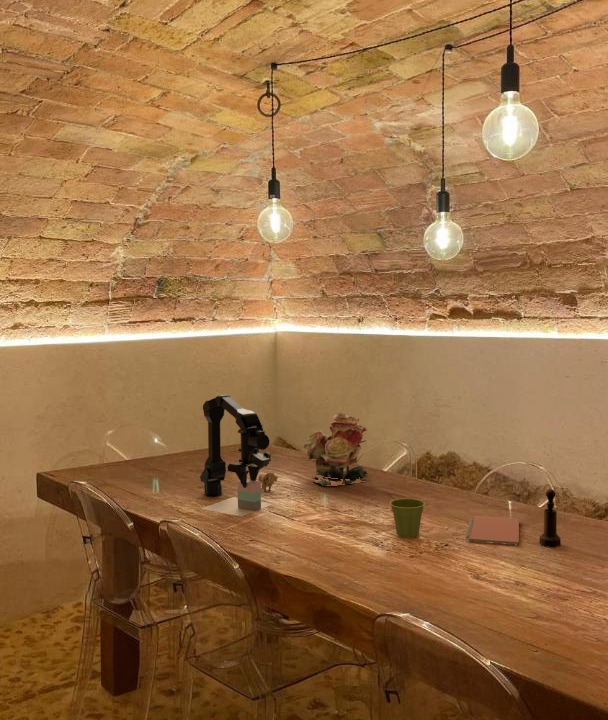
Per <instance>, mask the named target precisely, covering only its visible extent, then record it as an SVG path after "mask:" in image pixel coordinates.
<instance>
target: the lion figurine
mask: <svg viewBox="0 0 608 720" xmlns="http://www.w3.org/2000/svg"><path fill="white" fill-rule="evenodd" d="M278 479H279V477H278V476H276V474H275V472H273V471H272V472H271V471H270V472H269V473H266V474H265V473H260V474H258V478H257V481H260V482H261V489H263V492H264V493H266V492H271V489H272V486H273V484H275V482H277V481H278ZM267 488H268V491H267Z"/></svg>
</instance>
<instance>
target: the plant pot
mask: <svg viewBox="0 0 608 720" xmlns="http://www.w3.org/2000/svg"><path fill="white" fill-rule="evenodd" d="M389 505H390V506H391V510H392V514H393V519H394V524H395V530H396V535H397V536H398V538H403V539H410V538H411V539H415V538H417V537H418V536H419V534H420V529H421V521H422V515H423V511H424V507H425V505H426V502H425V501H424V500H421V499H418V498H417V499H416V498H406V497H405V498H397V499H393V500H390V502H389Z"/></svg>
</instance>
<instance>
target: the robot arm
mask: <svg viewBox="0 0 608 720" xmlns="http://www.w3.org/2000/svg"><path fill="white" fill-rule="evenodd" d="M202 411H203V415H204V418H205V419H206V421H207V430H208V431H207V435H208V436H207V437H208V439H207V440H208V441H207V443H208V446H207V447H208V448H207V449H208V457H207V458H206V460H205V462H204V469H203V471H202V472H201V474H200V476H199V478H200V482H202V483H203V485H204V486H203V487H204V494H202V496H204V497H209V498H217V497H219V496H223V495H224V493H223V492H222V491H223V490H222V489H223V487H222V481H225V478H226V473H227V472H231V473H235V474H236V476H237V478H238V479H239V480H238V481H240V482H241V484H242V486H243V488H246V485H247V480H248V475H249V480H253V481H257V479H258V476H259V472H260V470H262V469H263V468H265V467H268V465H269V464H270V462H271V461H272V460H271V458H272V456H271V452H268V451H266V452H264V453H263V452H262V453H261V452H260V450H262V451H263V450H266V449H268V447H269V446H270V442H271V441H270V438H269V436H268V435H267V434H266V431H265V430H264V428H263V424H262V423H261V421H260V418H259V416H258V414H257V413H256V412H254V411H252V410H250V409H245V408H244V407H242V406H241V405H240V404H239V403H238V402H236V401H235V400H234V399H233V398H232V397H231V395H229V394H220V395H219V394H218V395H217V396H215V397H214V398H212V399H209V400H206V401H205V402H204V403H203V405H202ZM225 411H226V412H227V413H229V414H230V415H231V416H232V417H233V418H234V419H235V424H236V425H237V426H238V428H239V429H238V431H237V434H238V433H239V434H240V448H238V452H240V458H239V459H238V461H237V462H235V461H233V462H231V463H229V464H228V465H227V464H226V461H225V460H223V458H222V456H221V455H222V453H221V451H222V449H221V448H222V447H221V445H222V444H221V421H222V419H223V418H224V416H225ZM226 465H227V466H226ZM226 467H227V468H226Z"/></svg>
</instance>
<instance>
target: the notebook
mask: <svg viewBox="0 0 608 720" xmlns="http://www.w3.org/2000/svg"><path fill="white" fill-rule="evenodd" d="M469 518H470V519H469V523H468V526H467V530H466V535H465V539H466V538H467V539H468V542H469V541H475V542H474V543H478V542H493V543H506V544H518V545H519V543H520V541H519V539H520V535H519V534H520V519H519V518H515V517H502V516H501V517H500V516H499V517H498V516H486V515H485V516H484V515H483V516H482V515H473V516H471V517H469Z"/></svg>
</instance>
